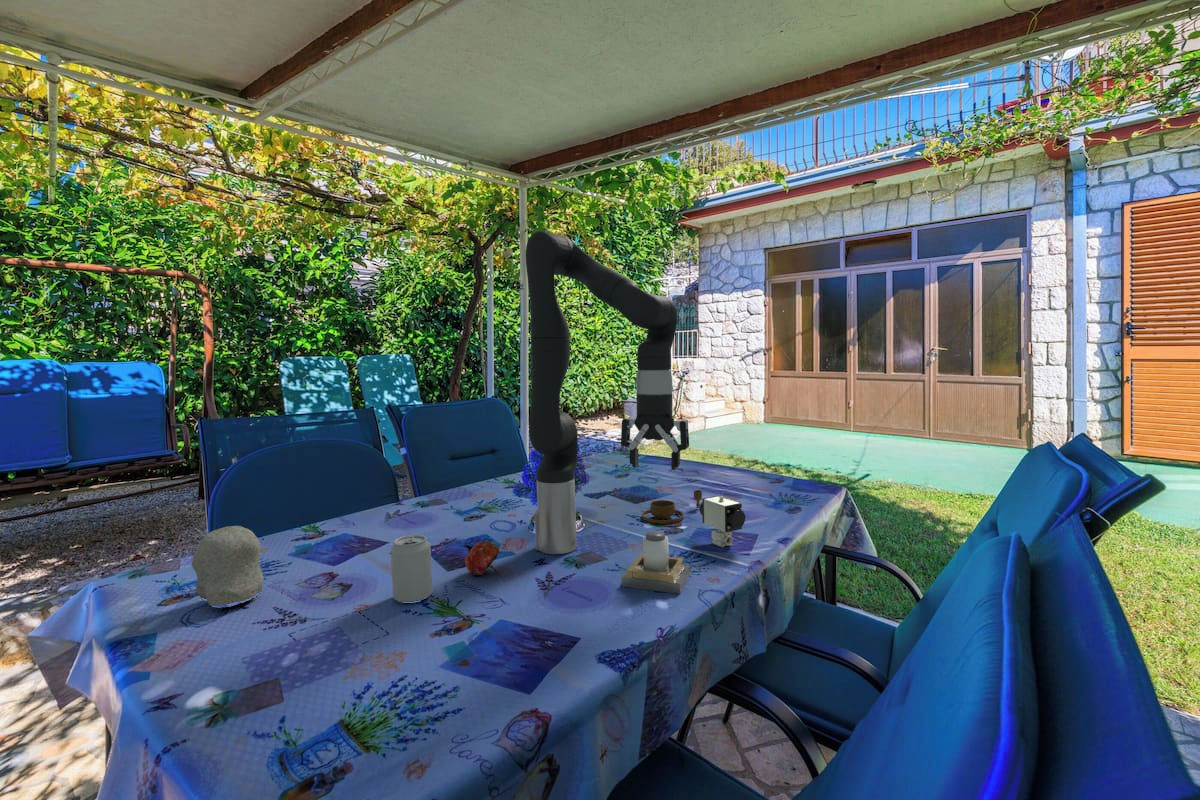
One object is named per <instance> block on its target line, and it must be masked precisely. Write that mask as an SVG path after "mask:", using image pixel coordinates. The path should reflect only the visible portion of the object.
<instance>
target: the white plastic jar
mask: <svg viewBox="0 0 1200 800" xmlns="http://www.w3.org/2000/svg"><path fill="white" fill-rule="evenodd" d="M669 552H670V551H669V537H668V536H667V535H666V532H665V533H664V531H663V532H662V531H658V530H655V531H648V532H646V533H645V535H644V536H643V538H642V554H643V558H644V570H649V571H658V572H667V573H668V572H669V557H670V555H669Z"/></svg>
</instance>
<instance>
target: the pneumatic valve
mask: <svg viewBox="0 0 1200 800" xmlns="http://www.w3.org/2000/svg"><path fill="white" fill-rule="evenodd" d="M701 501H702V502H701V503H700V506H699V509H698V510H699V514H700V516H702V517H701V519H702V523H703V524H705V525H707V526H709V527H712V528H713V530H712V531H711V535H710V536H711V539H712V540H711V544H712V545H714V546H716V547H717V546H718V547H720V548H722V549H723V548H724V547H727V546H732V545H733V540H734V539H733V537H732V535H733V533H732V532H734V531H740V530H742V529H743V526H744V525H745V522H746V513H745V512H744V511H743V506H742V504H743V503H741V502H737V501H735V500H731V499H730V498H725V496H723V495H720V496H718V495H714V496H709V497H704V498H703V497H702V499H701ZM715 529H716V530H715Z"/></svg>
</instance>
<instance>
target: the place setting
mask: <svg viewBox="0 0 1200 800" xmlns="http://www.w3.org/2000/svg"><path fill="white" fill-rule="evenodd" d="M693 498H694V500H695V501H696V504H695V505H696V508H700V505H701V503H700V501H702V499H703V491H702V490H694V491H693ZM649 505H650V509H648V510H644V511H642V512H641V518H642V520H643V521H645V522H647V521H648V522H647V523H650V522H651V523H650V524H655V523H658V524H657V525H662V526H663V527H662V528H665V527H664V526H666V527H673V525H674V526H677V527H681V526H682V525H684V524H683V523H682V520H683V519H684V517H685V516H684V515H685V514H684V512H683V511H681V510H677V509H676V508H675V505H676V503H675V502H674V501H671V500H664V499H663V500H660V499H659V500H654V501H651V502H650V504H649ZM648 513H651V515H652V517H654V519H653V518H649V517H648V516H646V517H645V516H644V515H646V514H648ZM674 513H675V514H678V515H680V516H681V517H679V516H678V517H677V518H671V517H672V516H674ZM656 518H657V519H656ZM670 518H671V519H670ZM659 519H662V520H659ZM664 519H667V520H664ZM676 522H677V523H676ZM669 523H672V524H669Z"/></svg>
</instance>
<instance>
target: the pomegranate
mask: <svg viewBox="0 0 1200 800" xmlns="http://www.w3.org/2000/svg"><path fill="white" fill-rule="evenodd" d="M463 548H467V549H468V551H467V556H465V560H464V561H465V567H466V569H467V570H468V571H469V572H470V573H469V574H472V575H473V576H475V575H481V576H483V575H484V573H485V572H486V571H487V570H488V569H489V568H491V569H492V570H493V571H495V572H497V573H498V574H499V573H500V572H499V571H498V570H497V569H496V568H495V567H494V566H493V565H492V564H493V562H494V561H495V560H496V559H497V557H498V555H499V554H500V553H501V551H500V550H499V548H498V546H497V545H496V544H495V543H493V542H491V541H482V540H481V541H480V542H477V543H476V544H475V545H472V546H471V545H468V544H465V546H463ZM486 569H487V570H486ZM485 570H486V571H485Z"/></svg>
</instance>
